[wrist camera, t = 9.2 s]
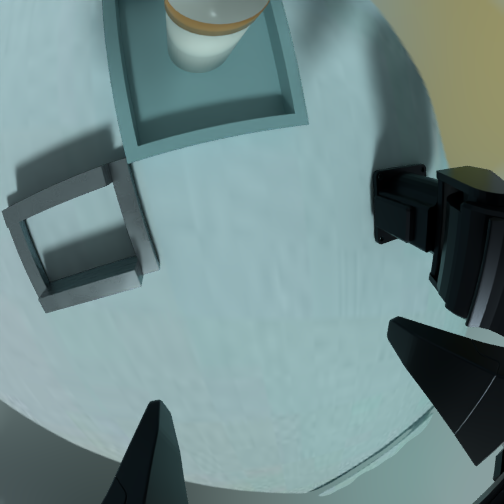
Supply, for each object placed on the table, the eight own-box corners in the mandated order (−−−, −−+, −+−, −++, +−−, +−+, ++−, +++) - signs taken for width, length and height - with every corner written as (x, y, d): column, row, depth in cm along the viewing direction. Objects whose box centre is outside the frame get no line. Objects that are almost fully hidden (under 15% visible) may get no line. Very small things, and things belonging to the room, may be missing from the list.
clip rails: (127, 157, 16) (120, 159, 13) (160, 265, 19) (158, 281, 17) (8, 207, 14) (-9, 217, 12) (45, 298, 17) (34, 316, 15)
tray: (260, -25, 12) (269, -39, 10) (294, 125, 18) (308, 124, 16) (107, -2, 10) (101, -15, 8) (133, 161, 16) (127, 164, 14)
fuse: (225, 16, 13) (261, -49, 6) (236, 68, 15) (281, 21, 8) (162, 26, 12) (159, -41, 5) (172, 79, 14) (170, 32, 7)
